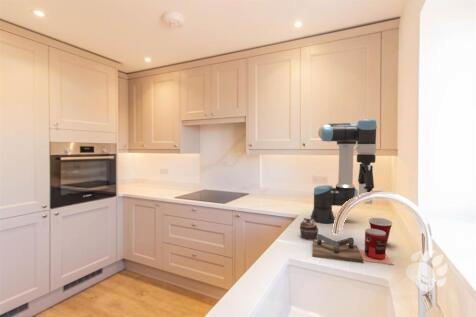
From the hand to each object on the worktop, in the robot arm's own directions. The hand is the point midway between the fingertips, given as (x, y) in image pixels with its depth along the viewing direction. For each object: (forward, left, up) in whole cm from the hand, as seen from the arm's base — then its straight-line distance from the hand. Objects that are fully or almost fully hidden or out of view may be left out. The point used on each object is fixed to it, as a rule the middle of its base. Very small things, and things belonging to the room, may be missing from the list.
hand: (364, 200), depth 111 cm
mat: (+4, +4, -24) cm, 25 cm away
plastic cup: (-14, +10, -24) cm, 29 cm away
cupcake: (-13, -24, -24) cm, 37 cm away
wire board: (+4, -12, -24) cm, 27 cm away
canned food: (+4, +4, -24) cm, 24 cm away
